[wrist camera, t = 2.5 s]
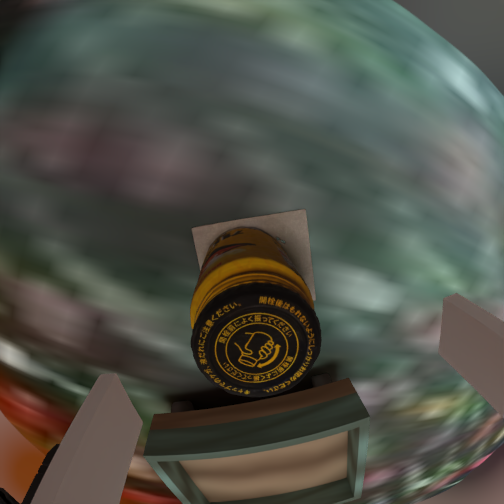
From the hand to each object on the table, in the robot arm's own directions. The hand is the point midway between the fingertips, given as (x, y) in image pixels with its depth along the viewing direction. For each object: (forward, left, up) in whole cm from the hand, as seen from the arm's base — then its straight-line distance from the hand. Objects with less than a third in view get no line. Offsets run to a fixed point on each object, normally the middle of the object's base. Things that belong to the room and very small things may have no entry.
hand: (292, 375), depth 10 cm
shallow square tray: (+18, -3, -13) cm, 22 cm away
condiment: (0, 0, -13) cm, 13 cm away
